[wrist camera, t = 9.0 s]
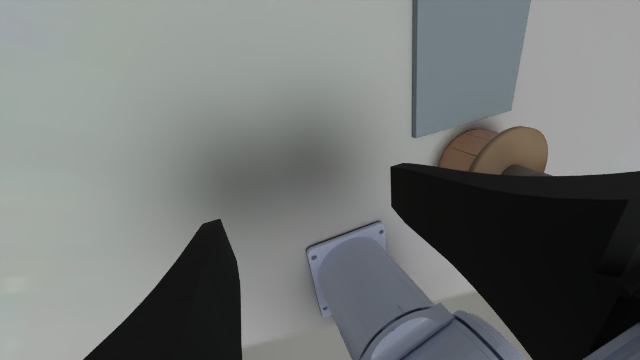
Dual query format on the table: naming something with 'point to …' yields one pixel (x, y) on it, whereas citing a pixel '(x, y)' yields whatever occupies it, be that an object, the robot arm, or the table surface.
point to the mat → (464, 60)
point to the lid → (513, 154)
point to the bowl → (465, 149)
